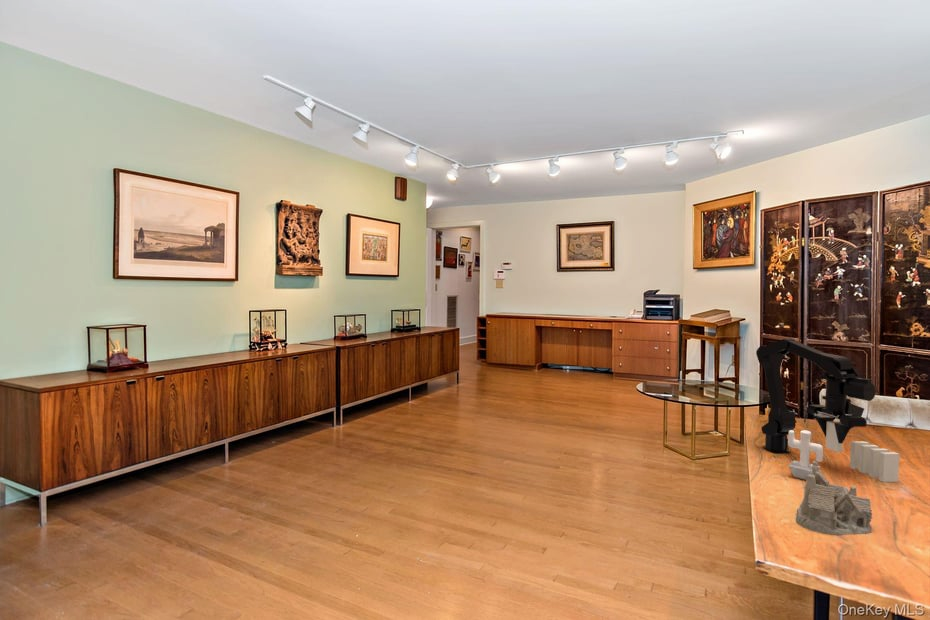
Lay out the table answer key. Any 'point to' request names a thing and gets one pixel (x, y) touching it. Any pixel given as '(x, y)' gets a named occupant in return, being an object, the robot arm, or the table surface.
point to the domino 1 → (832, 438)
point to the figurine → (804, 454)
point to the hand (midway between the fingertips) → (834, 440)
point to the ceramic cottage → (832, 507)
